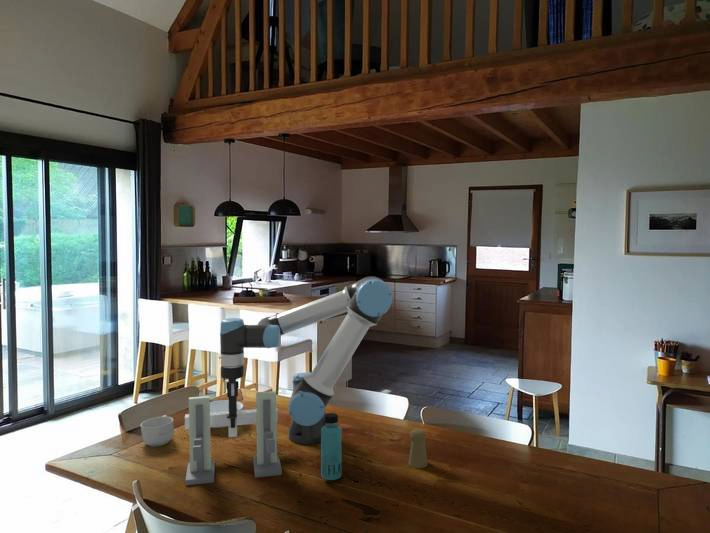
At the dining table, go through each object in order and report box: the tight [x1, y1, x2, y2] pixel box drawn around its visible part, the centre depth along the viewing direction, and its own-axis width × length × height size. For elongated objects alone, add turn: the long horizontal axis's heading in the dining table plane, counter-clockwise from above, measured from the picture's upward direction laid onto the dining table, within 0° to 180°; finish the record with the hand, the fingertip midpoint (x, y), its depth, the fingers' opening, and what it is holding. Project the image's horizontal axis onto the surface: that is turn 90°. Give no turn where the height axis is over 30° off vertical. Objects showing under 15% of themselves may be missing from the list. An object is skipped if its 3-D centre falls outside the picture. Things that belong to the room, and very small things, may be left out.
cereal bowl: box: [210, 399, 244, 429], centre depth 201 cm, size 17×17×7 cm
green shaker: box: [408, 428, 428, 469], centre depth 166 cm, size 6×6×11 cm
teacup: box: [139, 414, 175, 448], centre depth 184 cm, size 14×11×8 cm
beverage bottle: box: [320, 412, 343, 481], centre depth 155 cm, size 6×7×20 cm
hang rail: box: [184, 407, 279, 430], centre depth 174 cm, size 30×3×4 cm, turn 104°
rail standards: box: [185, 390, 283, 486], centre depth 156 cm, size 28×23×24 cm
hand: (232, 434), depth 175 cm, fingers closed on hang rail, 3 cm apart
